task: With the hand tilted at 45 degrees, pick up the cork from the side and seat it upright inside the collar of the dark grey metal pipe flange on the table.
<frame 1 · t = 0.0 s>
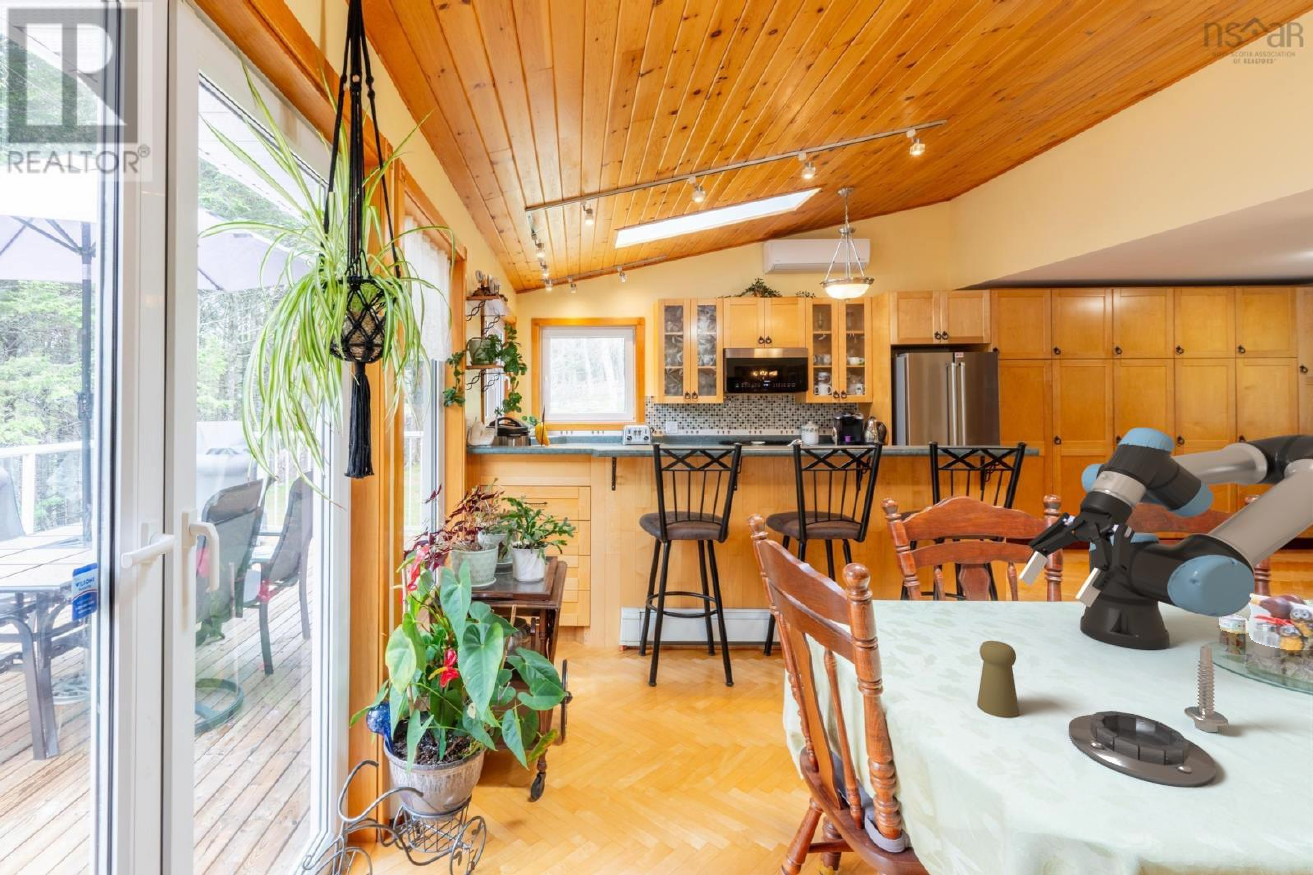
hand: (1051, 591, 107), 15 cm above the table, tool tilted 35°, fingers open, 13 cm apart
screw: (1205, 730, 87), on the table
flange: (1137, 751, 81), on the table
cork: (997, 709, 94), on the table
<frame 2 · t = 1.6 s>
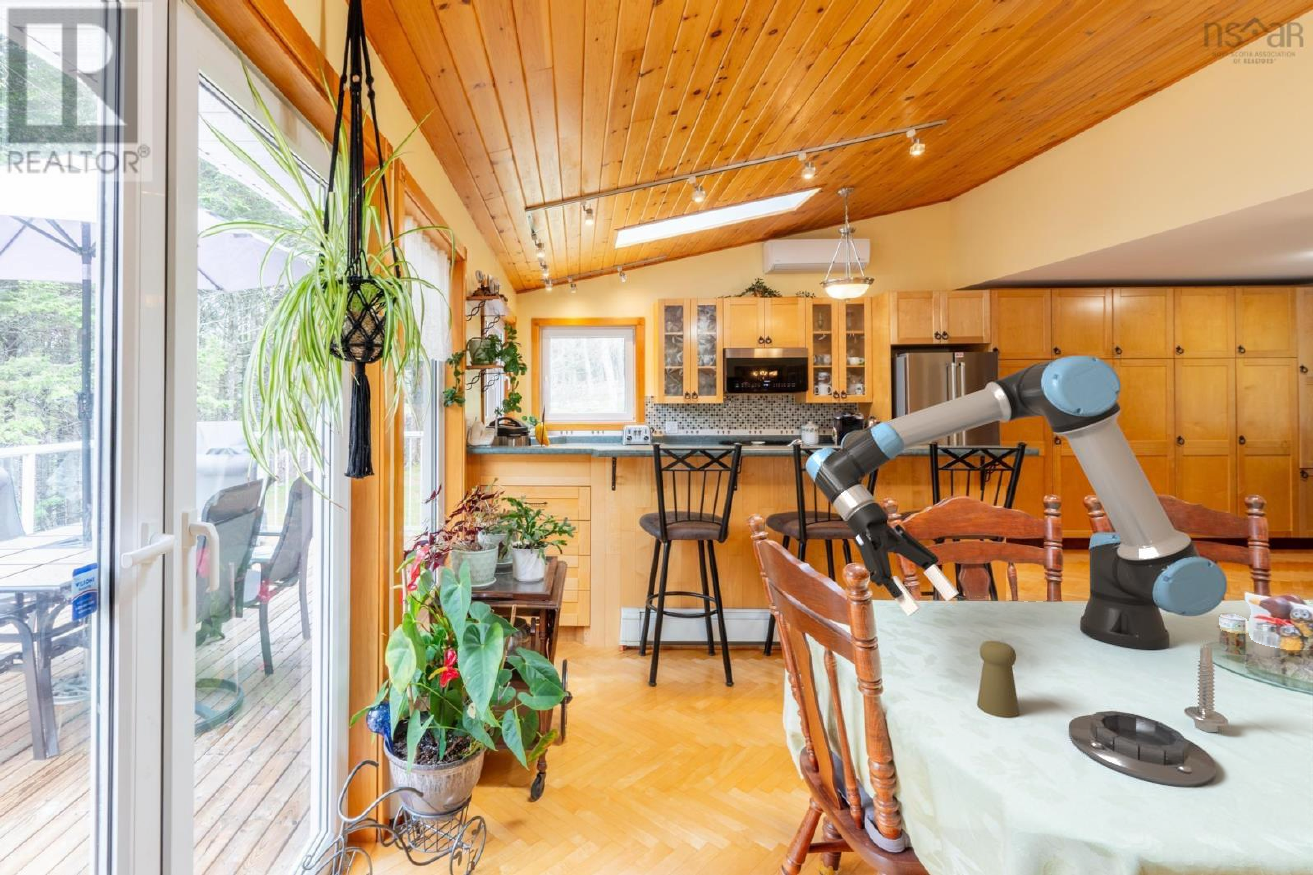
hand: (934, 604, 102), 15 cm above the table, tool tilted 45°, fingers open, 13 cm apart
nothing on the table moved.
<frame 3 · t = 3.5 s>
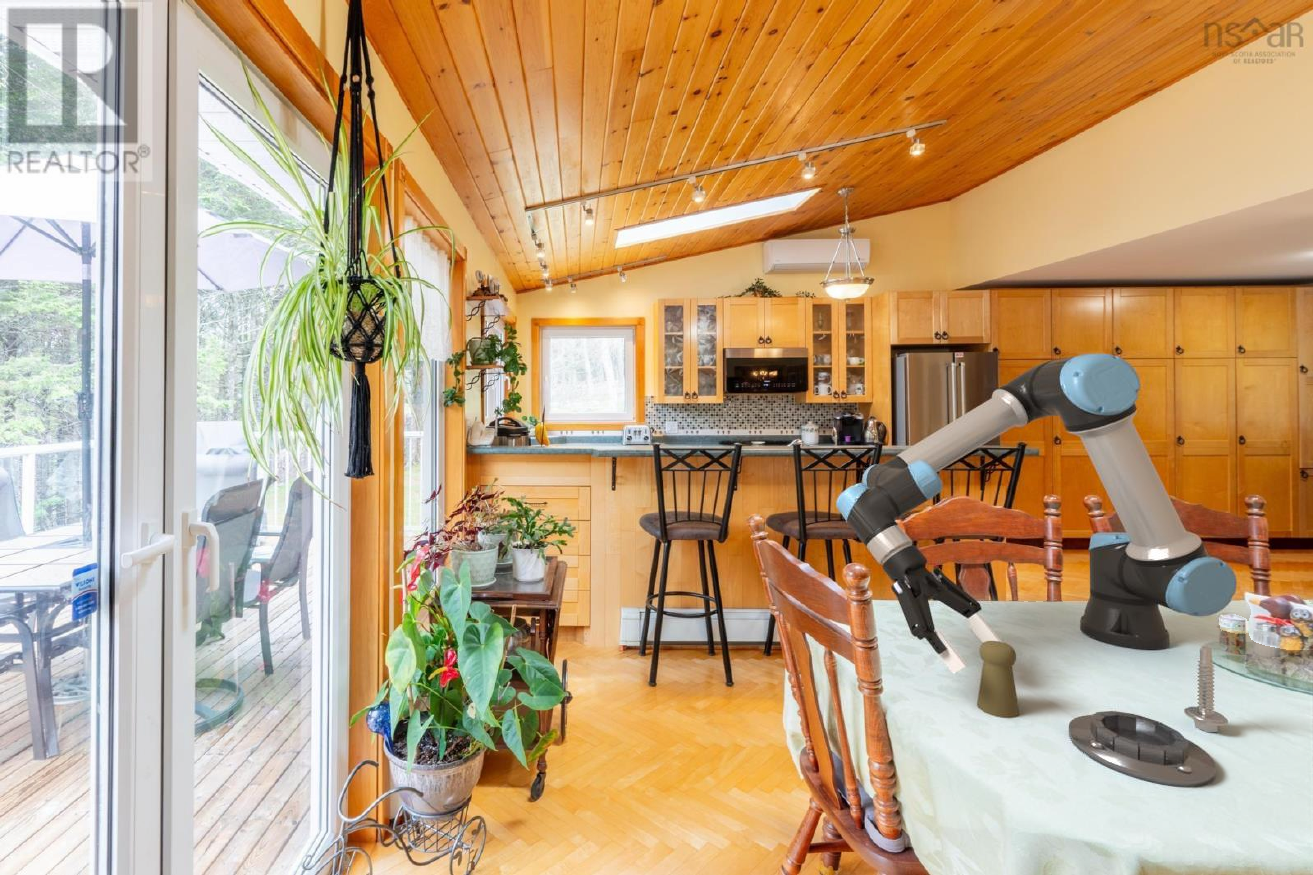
hand: (980, 659, 95), 8 cm above the table, tool tilted 45°, fingers open, 13 cm apart
nothing on the table moved.
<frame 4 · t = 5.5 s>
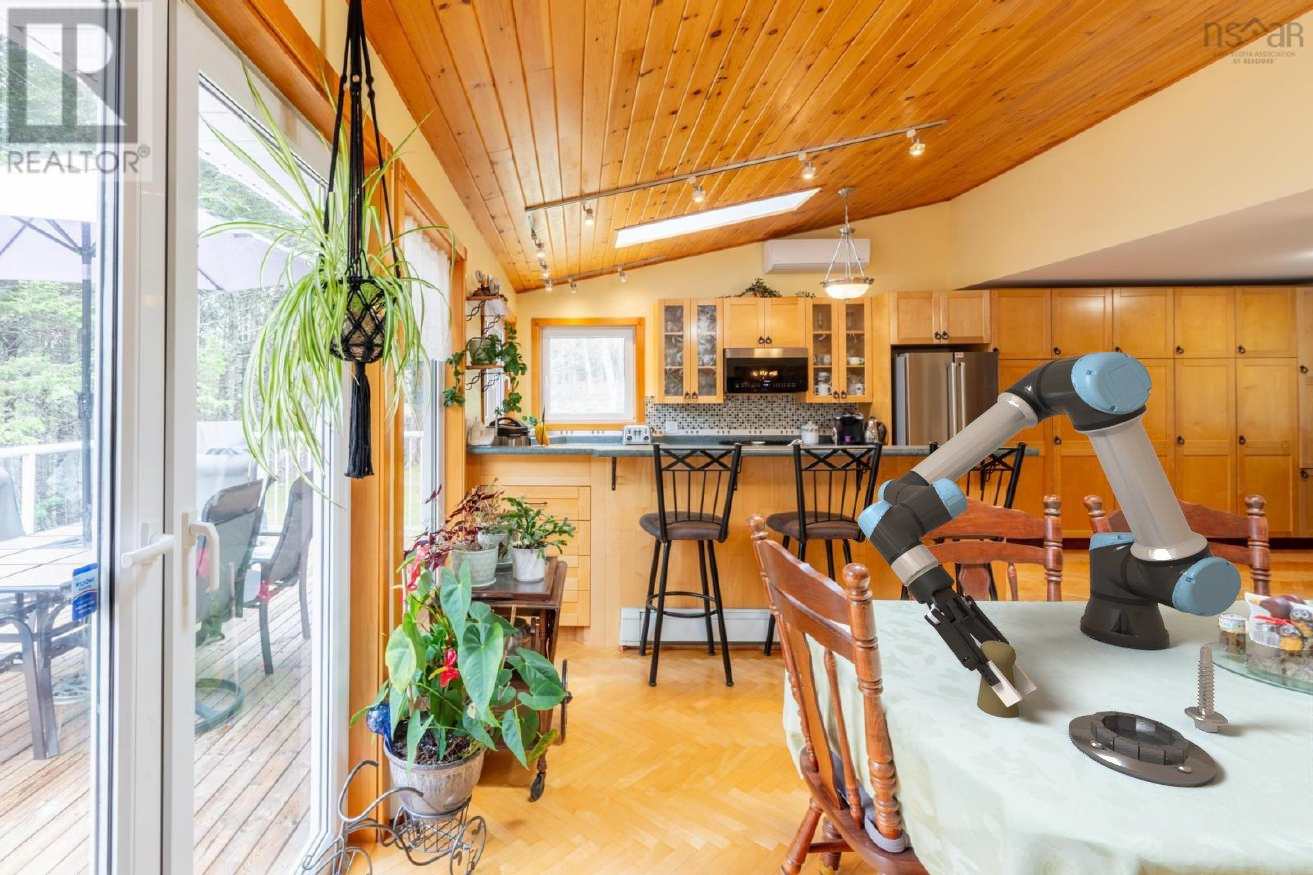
hand: (1022, 697, 91), 3 cm above the table, tool tilted 45°, fingers closed on cork, 5 cm apart
cork: (997, 709, 94), on the table, touching gripper
everything else where it was.
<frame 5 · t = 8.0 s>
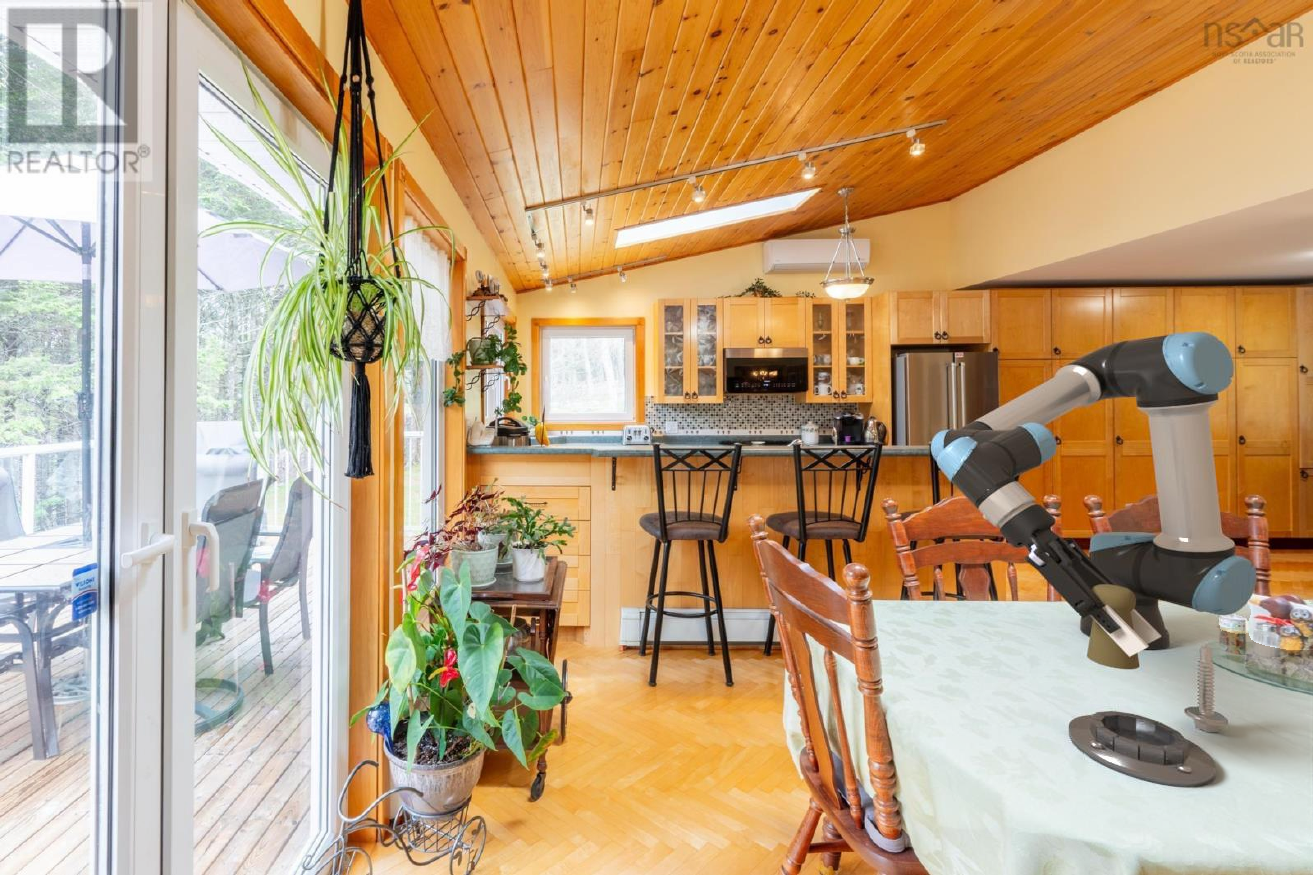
hand: (1145, 646, 79), 16 cm above the table, tool tilted 45°, fingers closed on cork, 5 cm apart
cork: (1112, 661, 82), point 12 cm above the table, touching gripper
everything else where it was.
when the fingers open (6 cm above the table, at t = 10.5 s): cork drops 1 cm, resting on flange.
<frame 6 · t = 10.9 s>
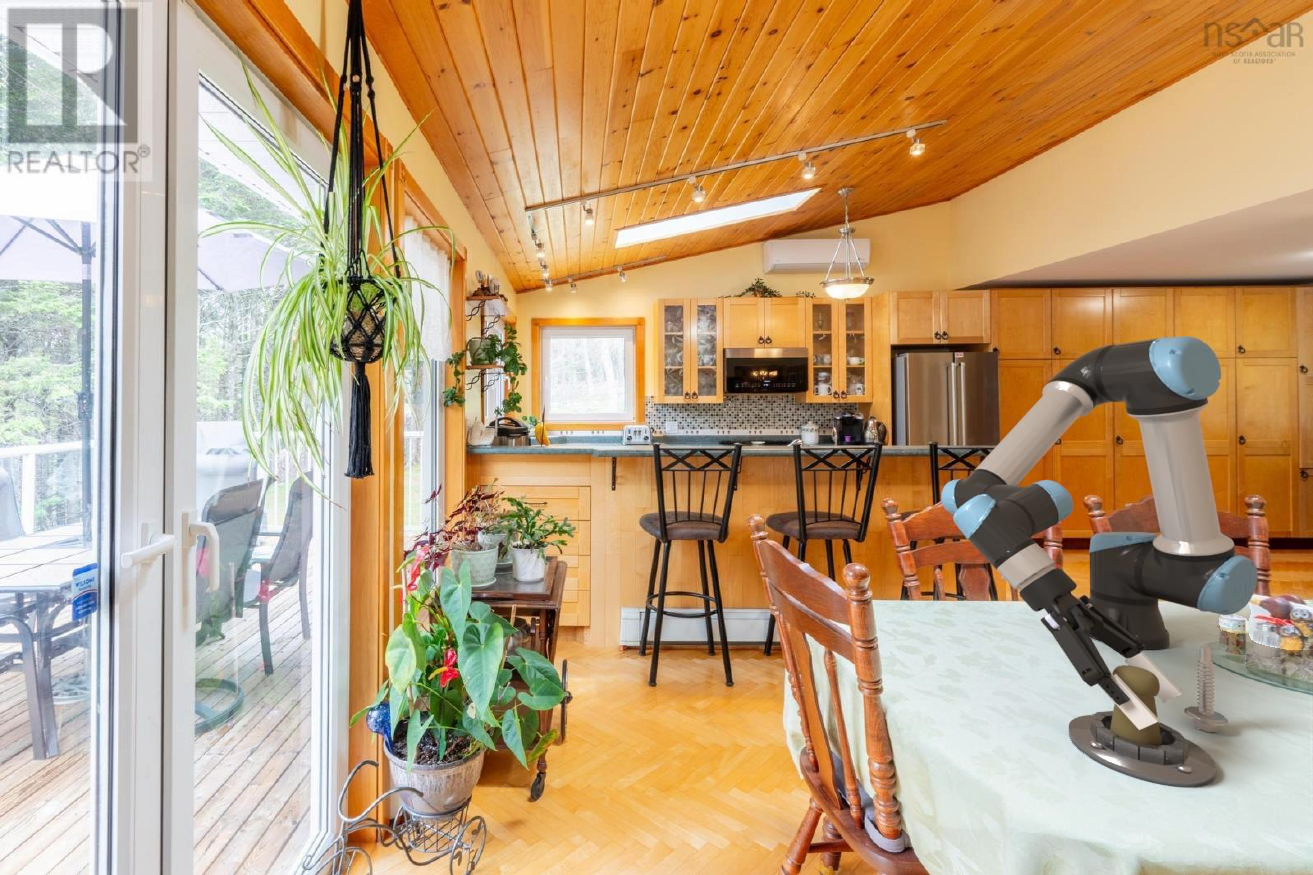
hand: (1162, 711, 79), 7 cm above the table, tool tilted 45°, fingers open, 11 cm apart
cork: (1135, 746, 81), point 1 cm above the table, touching flange
everything else where it was.
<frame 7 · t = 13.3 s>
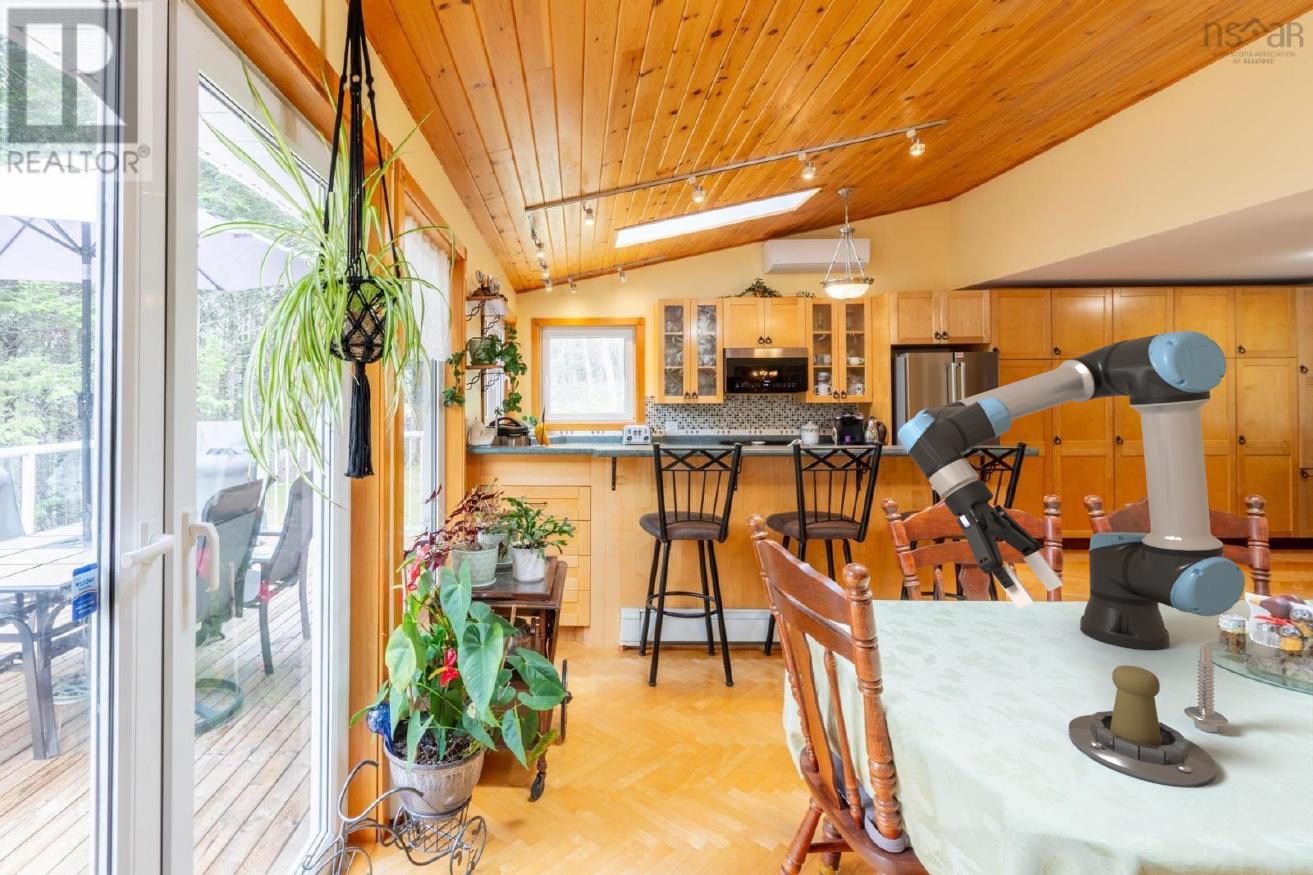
hand: (1042, 596, 94), 19 cm above the table, tool tilted 35°, fingers open, 13 cm apart
nothing on the table moved.
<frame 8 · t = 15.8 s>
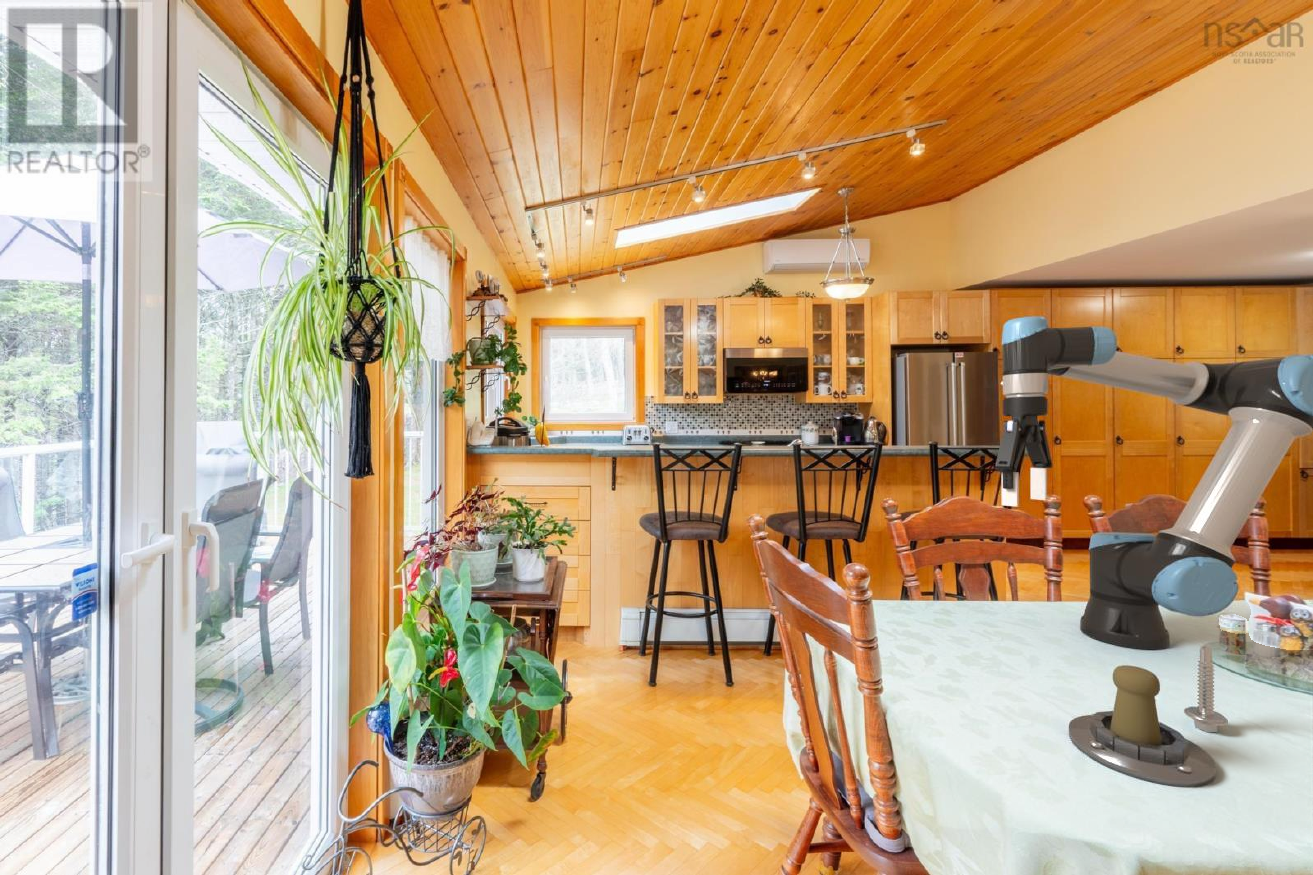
hand: (1024, 502, 112), 32 cm above the table, tool pointing down, fingers open, 13 cm apart
nothing on the table moved.
at the end: cork 0.7 cm off-centre on the flange, point 1.0 cm above the flange's base; cork tilted 0°; the gripper is holding nothing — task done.
